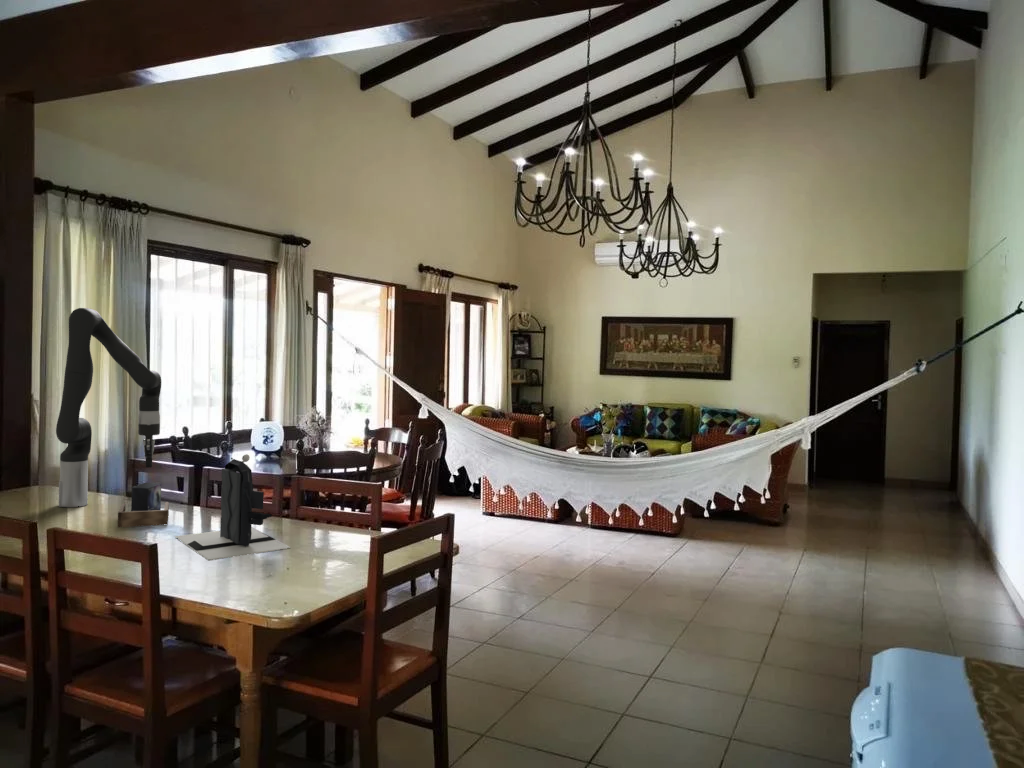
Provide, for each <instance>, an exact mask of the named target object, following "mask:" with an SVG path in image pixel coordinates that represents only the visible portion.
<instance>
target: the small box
mask: <svg viewBox="0 0 1024 768" xmlns="http://www.w3.org/2000/svg"><path fill="white" fill-rule="evenodd" d="M161 504H162V483H158V482H143V483H141V484H138V485H137V484H136V485H135V486H132V487H131V507H130V511H153V510H162V509H161V508H162V507H161V506H162V505H161Z"/></svg>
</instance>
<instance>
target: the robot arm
mask: <svg viewBox="0 0 1024 768" xmlns="http://www.w3.org/2000/svg"><path fill="white" fill-rule="evenodd" d="M92 337H93V338H95V339H96V340H97V341H98V342H100V343H101V345H102V346H103V347H104V348H105V349H106V351H107V352H108V354H109V356H110V357H111V358H112V359H113V360H114V361H115V363H117V364H118V365H119V366H120V367H121V368H123V370H125V372H127V373H128V375H129V377H131V379H132V380H133V381H134V382H135V384H137V386H139V387H140V388H141V396H140V397H139V400H138V403H139V404H138V419H137V420H138V424H137V426H138V427H137V429H138V430H137V431H138V433H137V434H138V436H144V437H145V438H144V439H143V441H142V442H143V443H142V445H143V452H144V458H145V468H152V467H153V457H154V452H155V443H156V439H155V438H154V436H158V435H160V434H161V415H160V396H161V390H162V377H161V375H160V373H159V372H157V371H155V370H150V369H149V368H148V367H147V366H146V365H145V364H144V361H143V360H142V359H141V357H140V356H139V355H138V354H136V352H134V351H133V349H132V348H130V347H129V346H128V345H127V344H126V343H125V342H124V341H123V340H122V339H121V338H120V337H119V336H118V335H117V334H116V333H115V332H114V331H113V330H112V329H111V327H110V326H109V325H108V323H107V322H106V321H105V319H104V318H103V317H102V315H101V314H100V313H99V312H98V311H97V310H96V309H92V308H89V307H87V308H85V307H79V308H75V309H74V310H72V311H71V313H70V314H69V317H68V347H67V354H66V363H65V369H64V377H63V389H62V396H61V404H60V410H59V413H58V417H57V422H56V427H55V434H56V437H57V439H58V441H59V442H60V443H62V444H66V445H67V446H66V447H65V449H64V450H63V451H62V452H61V453H60V455H59V456H60V457H59V458H60V460H59V482H58V508H62V507H63V508H78V506H79V507H84V506H87V505H88V500H89V499H88V497H89V495H88V491H89V485H88V484H89V483H88V482H89V455H90V453H91V450H92V448H91V447H92V425H91V423H90V421H89V420H87V419H86V418H84V417H80V415H81V413H80V412H81V408H82V405H83V402H84V401H85V399H86V398H87V396H88V393H89V392H90V390H91V389H92V388H91V387H92V384H93V376H94V362H93V358H92V353H91V339H92Z"/></svg>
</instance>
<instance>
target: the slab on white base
mask: <svg viewBox="0 0 1024 768" xmlns="http://www.w3.org/2000/svg"><path fill="white" fill-rule="evenodd" d="M230 459H231V460H230V461H229V462H227V463H226V464H225V467H224V468H221V491H220V493H221V494H220V513H221V514H220V515H221V516H220V530H217V531H216V530H214V531H207V532H206V531H205V532H200V533H198V532H197V533H191V534H182V535H175V536H174V537H176V538H178V539H179V540H181V541H182V542H183V543H182V542H181V541H180V542H181V543H182V544H184V543H185V544H186V545H188V546H189V547H190V548H189V547H188V546H187V547H188V548H189V549H191V548H192V549H193V550H192V549H191V550H192V551H194V550H195V551H196V553H197V552H198V553H199V554H198V553H197V554H198V555H200V556H201V555H202V556H201V557H202V558H204V557H205V558H204V559H205V560H207V559H208V560H207V561H214V560H213V559H215V560H220V559H219V558H222V559H227V558H228V557H229V558H234V557H233V556H235V557H241V556H240V555H242V556H248V555H247V554H249V555H255V554H254V553H256V554H261V552H263V553H268V551H270V552H275V550H277V551H281V550H280V549H283V550H288V549H287V548H290V549H291V546H289V545H287V544H286V543H284V542H281V541H279V539H278V540H277V539H276V538H275V537H272V536H270V535H269V534H266V533H264V532H262V531H260V530H259V529H256V528H254V527H253V526H252V525H254V526H262V525H263V524H264V520H266V519H268V518H271V517H272V514H271V513H266V512H264V513H263V512H254V511H252V510H253V509H256V510H257V509H258V510H263V509H264V491H259V490H258V491H257V490H254V484H253V473H252V469H251V468H250V466H248V464H246V463H247V462H249V460H250V455H249V454H248V453H247V454H246V453H245V454H244V455H243V456H242V457H241V461H240V460H237V459H235V458H233V457H231V458H230ZM245 462H246V463H245ZM176 538H175V539H176ZM178 539H177V540H178ZM179 540H178V541H179ZM185 544H184V545H185ZM186 545H185V546H186ZM195 551H194V552H195ZM229 558H228V559H229Z"/></svg>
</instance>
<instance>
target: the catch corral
mask: <svg viewBox="0 0 1024 768" xmlns="http://www.w3.org/2000/svg"><path fill="white" fill-rule="evenodd" d="M169 504H170V502H168V501H166V502H164V506H163V507H164V508H163V509H161V510H153V511H131V510H129V511H126V503H122V504H121V505H120V507H119V509H118V512H117V528H128V527H129V528H130V527H146V526H147V527H148V526H151V525H153V526H165V525H164V524H167V525H168V524H169V517H168V516H169V514H170V511H169V510H170V505H169Z"/></svg>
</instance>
